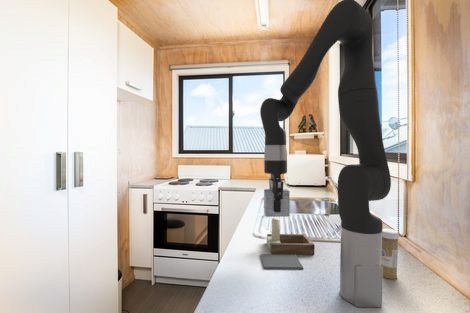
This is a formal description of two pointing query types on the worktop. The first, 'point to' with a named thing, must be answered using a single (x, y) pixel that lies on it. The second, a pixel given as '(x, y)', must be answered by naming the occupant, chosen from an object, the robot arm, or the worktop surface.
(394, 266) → the sprinkles bottle
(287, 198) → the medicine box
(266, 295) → the worktop surface
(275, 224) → the sage rake
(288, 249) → the walnut cubby
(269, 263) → the charcoal mat
